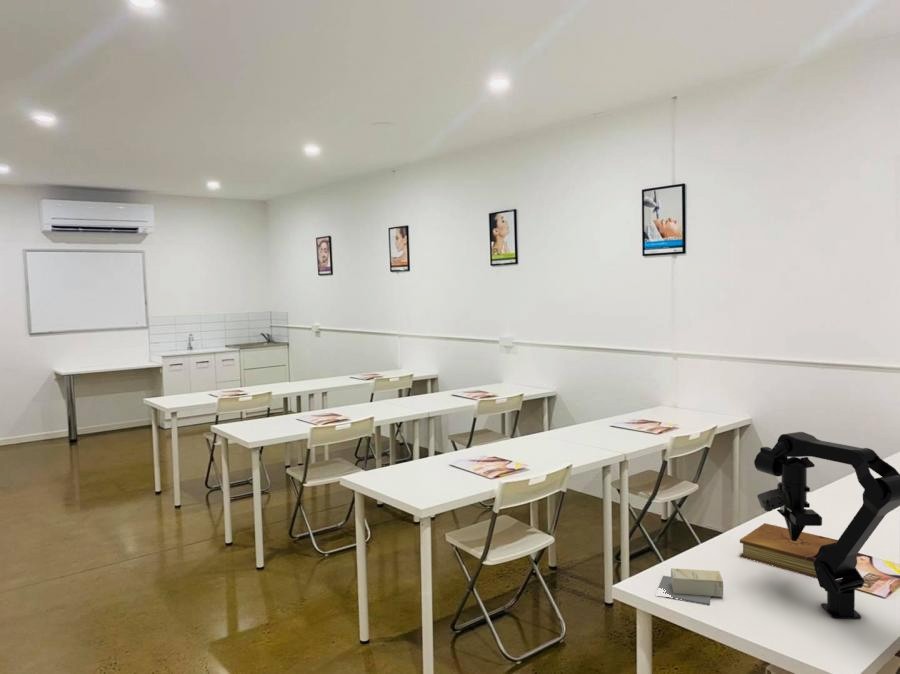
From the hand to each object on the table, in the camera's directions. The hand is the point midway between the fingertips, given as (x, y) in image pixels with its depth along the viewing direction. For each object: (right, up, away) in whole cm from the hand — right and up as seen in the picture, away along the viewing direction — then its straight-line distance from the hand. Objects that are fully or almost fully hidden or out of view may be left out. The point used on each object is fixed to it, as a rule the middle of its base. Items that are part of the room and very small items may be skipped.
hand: (793, 540), depth 169 cm
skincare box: (-19, -11, 0) cm, 22 cm away
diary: (+10, -12, +20) cm, 26 cm away
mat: (-27, -14, +2) cm, 31 cm away
